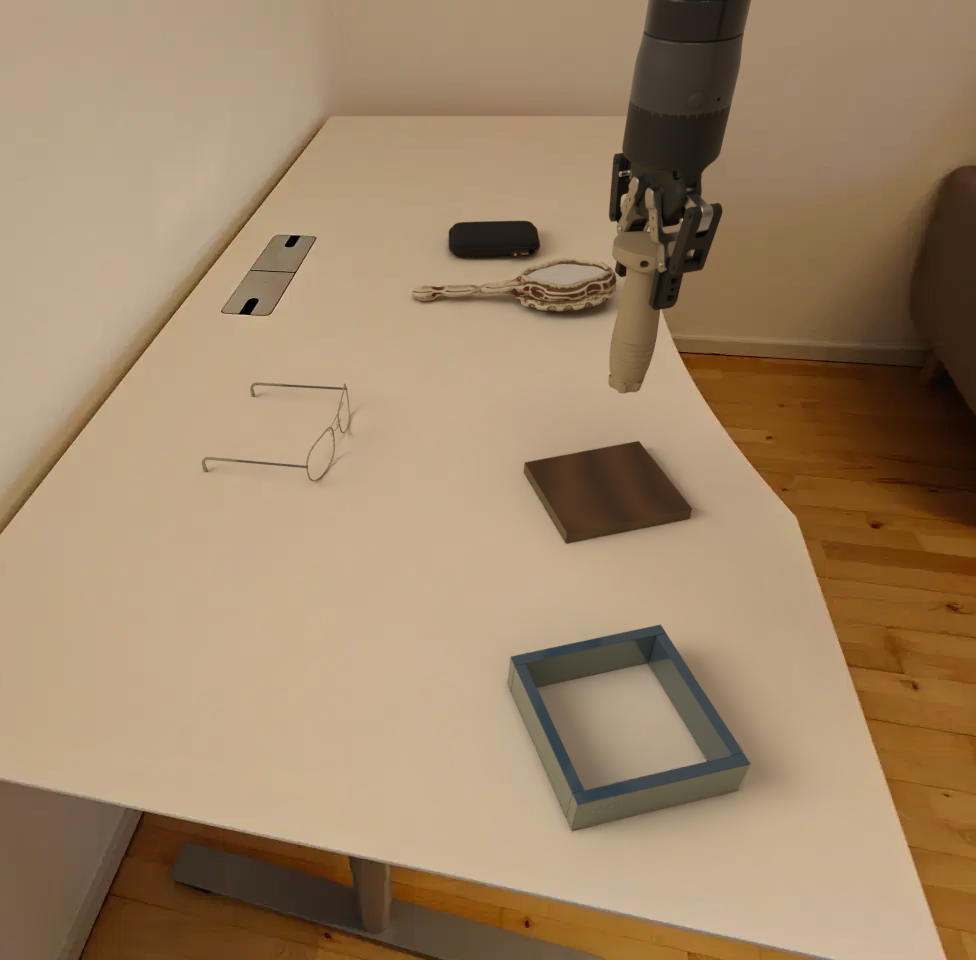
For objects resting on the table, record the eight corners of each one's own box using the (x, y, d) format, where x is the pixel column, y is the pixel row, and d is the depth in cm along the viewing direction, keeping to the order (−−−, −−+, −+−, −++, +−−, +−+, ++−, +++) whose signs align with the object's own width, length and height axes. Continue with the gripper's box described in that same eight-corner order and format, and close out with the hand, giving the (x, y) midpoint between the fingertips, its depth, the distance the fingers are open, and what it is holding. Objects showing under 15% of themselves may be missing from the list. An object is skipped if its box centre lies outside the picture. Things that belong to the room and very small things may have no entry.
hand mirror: (414, 265, 132) (614, 251, 125) (417, 302, 134) (612, 289, 128) (406, 284, 122) (621, 269, 116) (409, 323, 125) (619, 311, 118)
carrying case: (448, 264, 136) (541, 263, 135) (449, 247, 134) (542, 245, 133) (448, 236, 144) (535, 234, 143) (448, 219, 142) (536, 217, 141)
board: (636, 450, 98) (638, 440, 97) (689, 518, 89) (692, 508, 88) (523, 472, 97) (524, 462, 96) (565, 543, 88) (567, 533, 87)
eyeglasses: (320, 490, 97) (317, 456, 93) (202, 471, 101) (195, 439, 97) (358, 409, 108) (356, 377, 105) (251, 395, 112) (246, 364, 109)
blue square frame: (652, 651, 77) (660, 624, 74) (738, 790, 66) (751, 764, 64) (507, 683, 75) (510, 656, 73) (571, 830, 65) (577, 805, 62)
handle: (598, 367, 86) (620, 227, 76) (663, 379, 83) (695, 237, 73) (585, 392, 82) (607, 250, 73) (653, 406, 80) (685, 261, 70)
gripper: (780, 116, 60) (725, 322, 71) (678, 64, 71) (644, 250, 82) (683, 130, 59) (642, 336, 70) (595, 76, 70) (571, 262, 81)
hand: (643, 289), depth 76 cm, fingers closed on handle, 6 cm apart
